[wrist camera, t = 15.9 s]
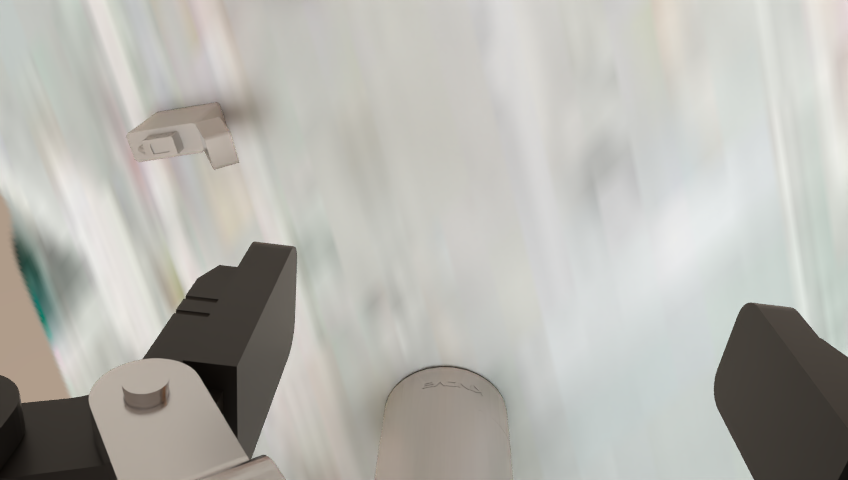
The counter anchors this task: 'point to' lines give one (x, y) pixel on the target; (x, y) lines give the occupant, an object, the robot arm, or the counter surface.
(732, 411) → the robot arm
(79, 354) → the counter surface
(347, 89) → the counter surface
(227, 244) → the counter surface
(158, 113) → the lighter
